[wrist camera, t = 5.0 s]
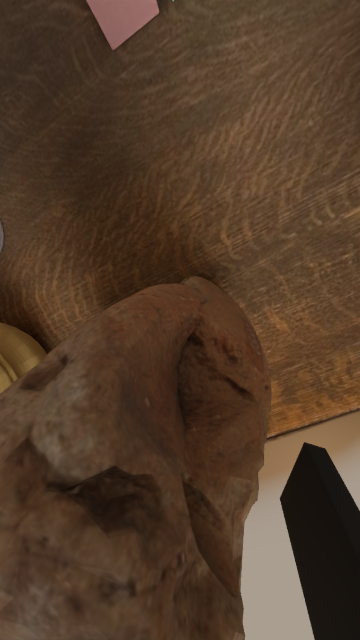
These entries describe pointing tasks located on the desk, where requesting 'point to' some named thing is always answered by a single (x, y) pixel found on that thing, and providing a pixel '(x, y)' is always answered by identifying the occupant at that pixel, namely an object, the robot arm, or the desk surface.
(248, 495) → the block
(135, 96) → the desk surface
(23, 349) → the pot
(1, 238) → the figurine
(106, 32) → the dusty-rose block
